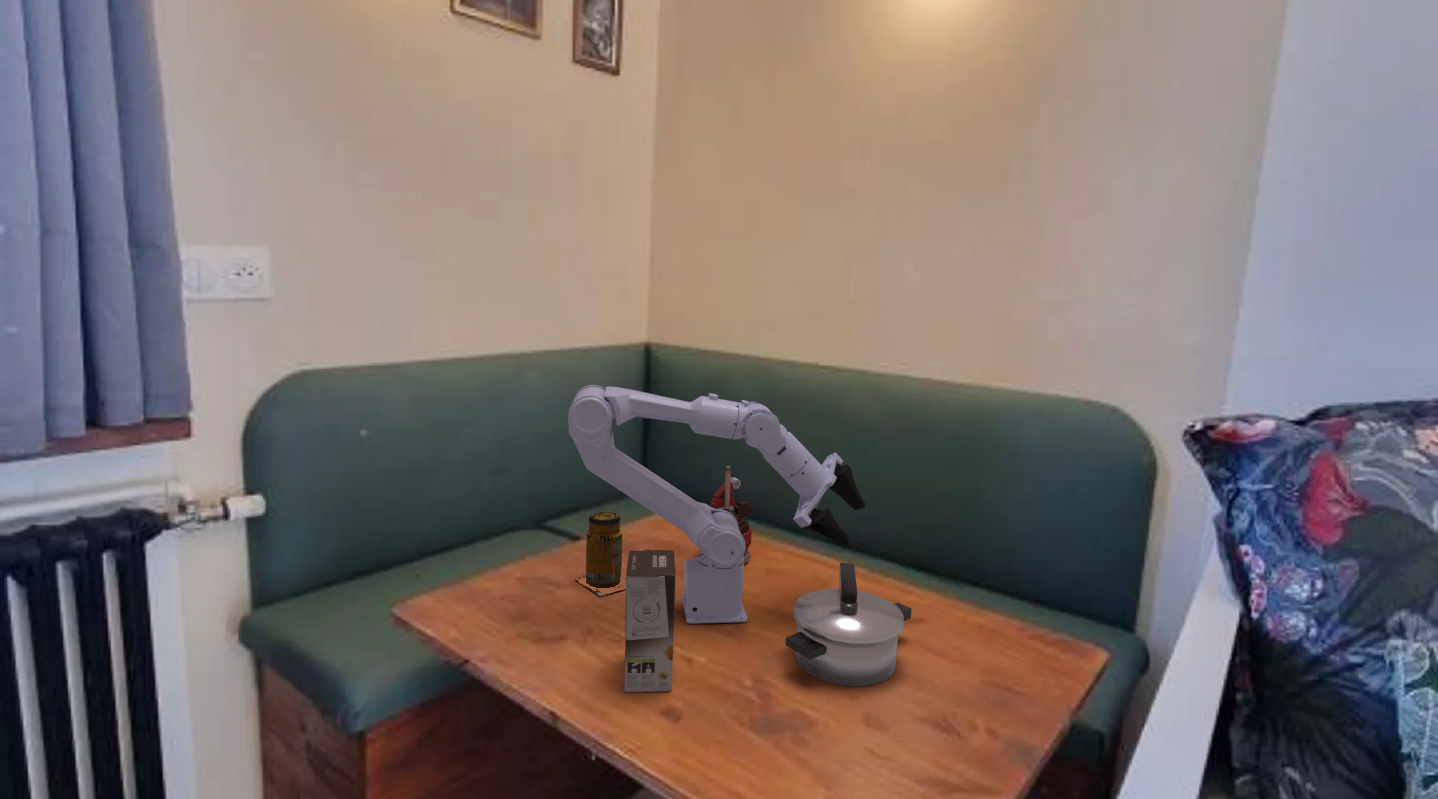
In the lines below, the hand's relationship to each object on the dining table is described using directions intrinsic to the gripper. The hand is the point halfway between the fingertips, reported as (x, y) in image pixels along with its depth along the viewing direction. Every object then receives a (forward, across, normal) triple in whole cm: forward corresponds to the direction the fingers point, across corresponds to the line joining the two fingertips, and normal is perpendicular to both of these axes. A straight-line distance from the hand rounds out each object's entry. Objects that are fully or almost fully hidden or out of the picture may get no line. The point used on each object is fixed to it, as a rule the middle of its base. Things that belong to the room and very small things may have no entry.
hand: (852, 524), depth 125 cm
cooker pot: (+8, -19, -2) cm, 21 cm away
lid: (+3, -16, -4) cm, 16 cm away
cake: (-2, -1, +32) cm, 32 cm away
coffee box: (-12, -37, +10) cm, 40 cm away
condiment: (-17, -20, +35) cm, 44 cm away
